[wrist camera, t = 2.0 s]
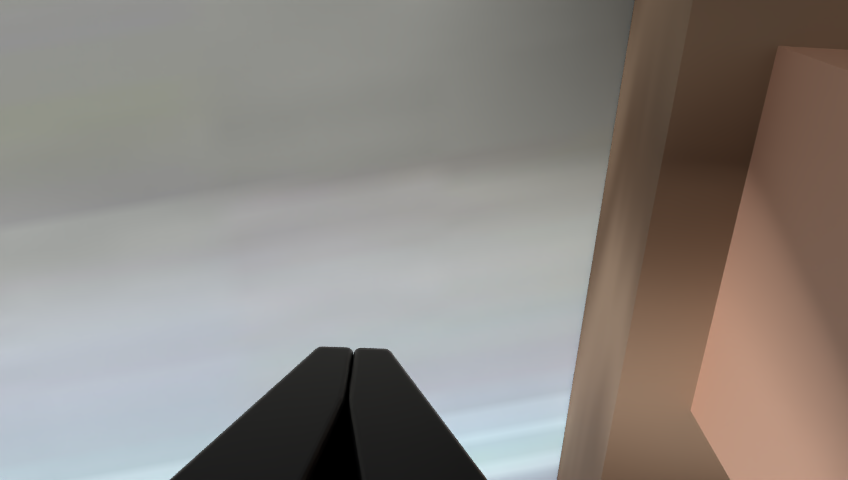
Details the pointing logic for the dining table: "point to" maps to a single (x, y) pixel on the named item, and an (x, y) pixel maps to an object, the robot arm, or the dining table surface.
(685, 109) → the walnut deck
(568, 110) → the dining table surface
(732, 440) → the terracotta block
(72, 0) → the dining table surface
